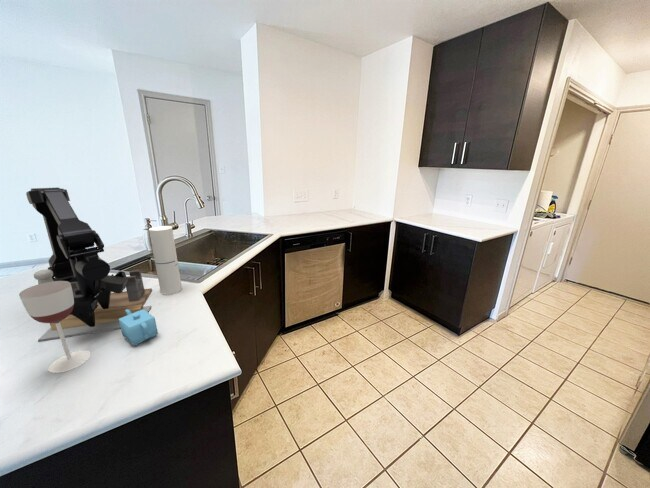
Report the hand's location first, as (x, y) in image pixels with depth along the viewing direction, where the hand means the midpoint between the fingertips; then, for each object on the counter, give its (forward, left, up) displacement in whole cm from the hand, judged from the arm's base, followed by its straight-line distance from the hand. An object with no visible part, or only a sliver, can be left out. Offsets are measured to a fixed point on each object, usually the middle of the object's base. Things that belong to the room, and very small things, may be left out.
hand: (100, 317), depth 78 cm
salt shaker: (-16, -19, -2) cm, 25 cm away
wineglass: (+17, 0, -2) cm, 17 cm away
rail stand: (-13, -2, -2) cm, 13 cm away
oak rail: (0, 0, -1) cm, 1 cm away
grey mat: (0, 0, -2) cm, 2 cm away
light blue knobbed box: (+11, +13, -2) cm, 17 cm away
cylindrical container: (-17, +16, -2) cm, 23 cm away
